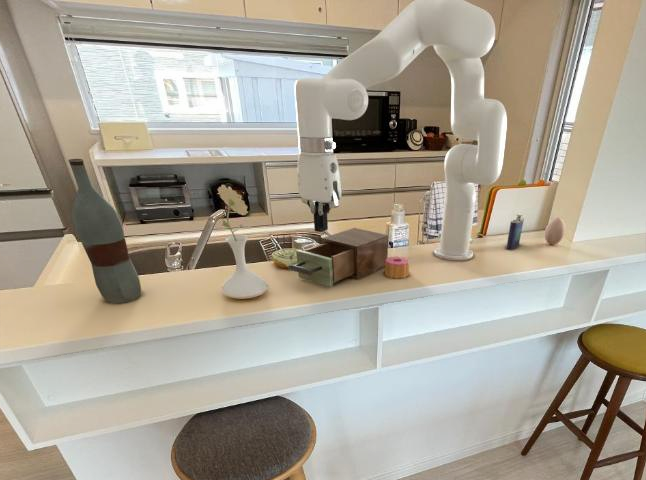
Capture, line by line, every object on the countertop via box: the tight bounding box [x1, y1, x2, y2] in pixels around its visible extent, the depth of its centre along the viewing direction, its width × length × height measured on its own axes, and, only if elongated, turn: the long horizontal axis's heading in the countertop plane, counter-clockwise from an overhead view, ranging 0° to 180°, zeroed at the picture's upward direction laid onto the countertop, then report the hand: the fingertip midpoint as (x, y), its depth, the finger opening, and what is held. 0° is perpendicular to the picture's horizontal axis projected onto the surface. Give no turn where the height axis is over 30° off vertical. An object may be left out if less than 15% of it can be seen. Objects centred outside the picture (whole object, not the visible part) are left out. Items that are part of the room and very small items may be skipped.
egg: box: [544, 217, 566, 246], centre depth 147 cm, size 7×7×9 cm
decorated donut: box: [271, 247, 301, 269], centre depth 124 cm, size 10×11×4 cm
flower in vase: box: [217, 184, 269, 300], centre depth 99 cm, size 13×11×25 cm
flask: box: [505, 214, 525, 251], centre depth 143 cm, size 9×3×11 cm, turn 147°
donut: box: [384, 256, 410, 279], centre depth 120 cm, size 7×7×4 cm
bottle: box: [67, 158, 142, 304], centre depth 94 cm, size 9×9×30 cm
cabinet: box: [321, 227, 389, 280], centre depth 122 cm, size 15×13×9 cm
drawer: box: [287, 242, 355, 288], centre depth 112 cm, size 19×11×7 cm, turn 145°
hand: (321, 230), depth 104 cm, fingers closed
